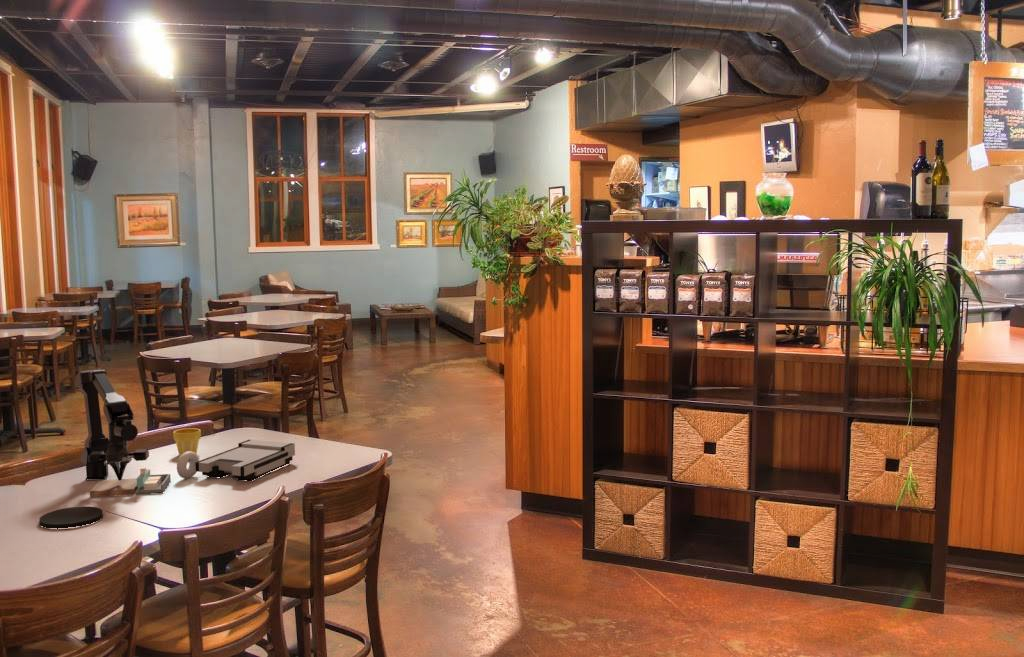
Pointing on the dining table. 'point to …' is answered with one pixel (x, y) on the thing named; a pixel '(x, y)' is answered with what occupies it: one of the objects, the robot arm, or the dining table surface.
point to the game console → (248, 460)
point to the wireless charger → (71, 517)
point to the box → (161, 488)
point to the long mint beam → (143, 477)
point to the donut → (182, 464)
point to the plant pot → (187, 439)
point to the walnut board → (115, 487)
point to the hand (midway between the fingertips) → (120, 480)
